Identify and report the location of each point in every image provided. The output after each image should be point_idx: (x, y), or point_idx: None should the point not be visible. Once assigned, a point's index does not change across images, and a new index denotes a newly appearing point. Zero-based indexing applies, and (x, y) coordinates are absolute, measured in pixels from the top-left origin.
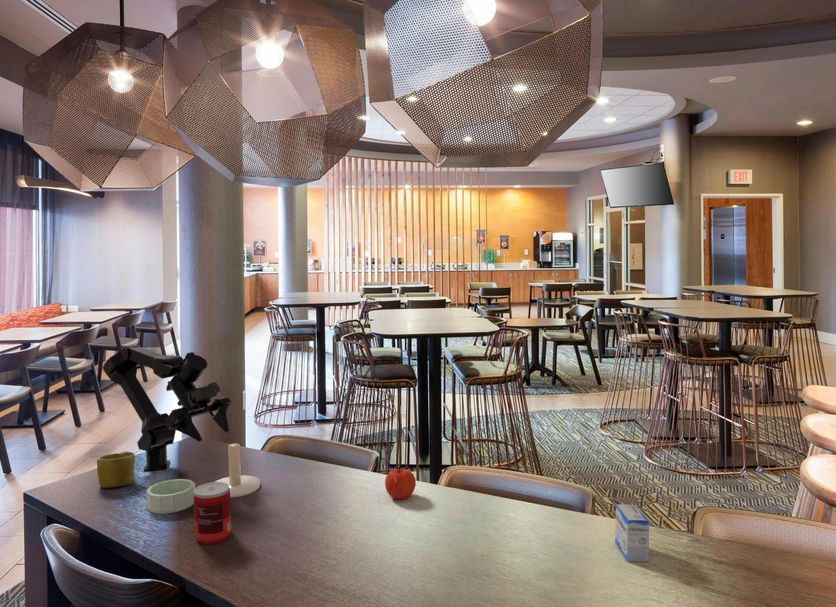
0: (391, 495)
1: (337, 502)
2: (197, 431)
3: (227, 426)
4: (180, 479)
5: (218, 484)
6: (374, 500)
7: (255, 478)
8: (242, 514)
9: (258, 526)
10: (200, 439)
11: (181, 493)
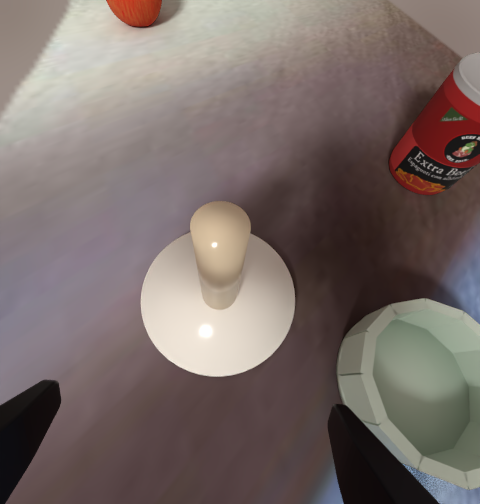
0: (157, 15)
1: (198, 77)
2: (383, 473)
3: (12, 405)
4: (381, 418)
5: (474, 85)
6: (167, 41)
7: (156, 267)
8: (327, 180)
9: (344, 132)
10: (345, 410)
11: (437, 303)
